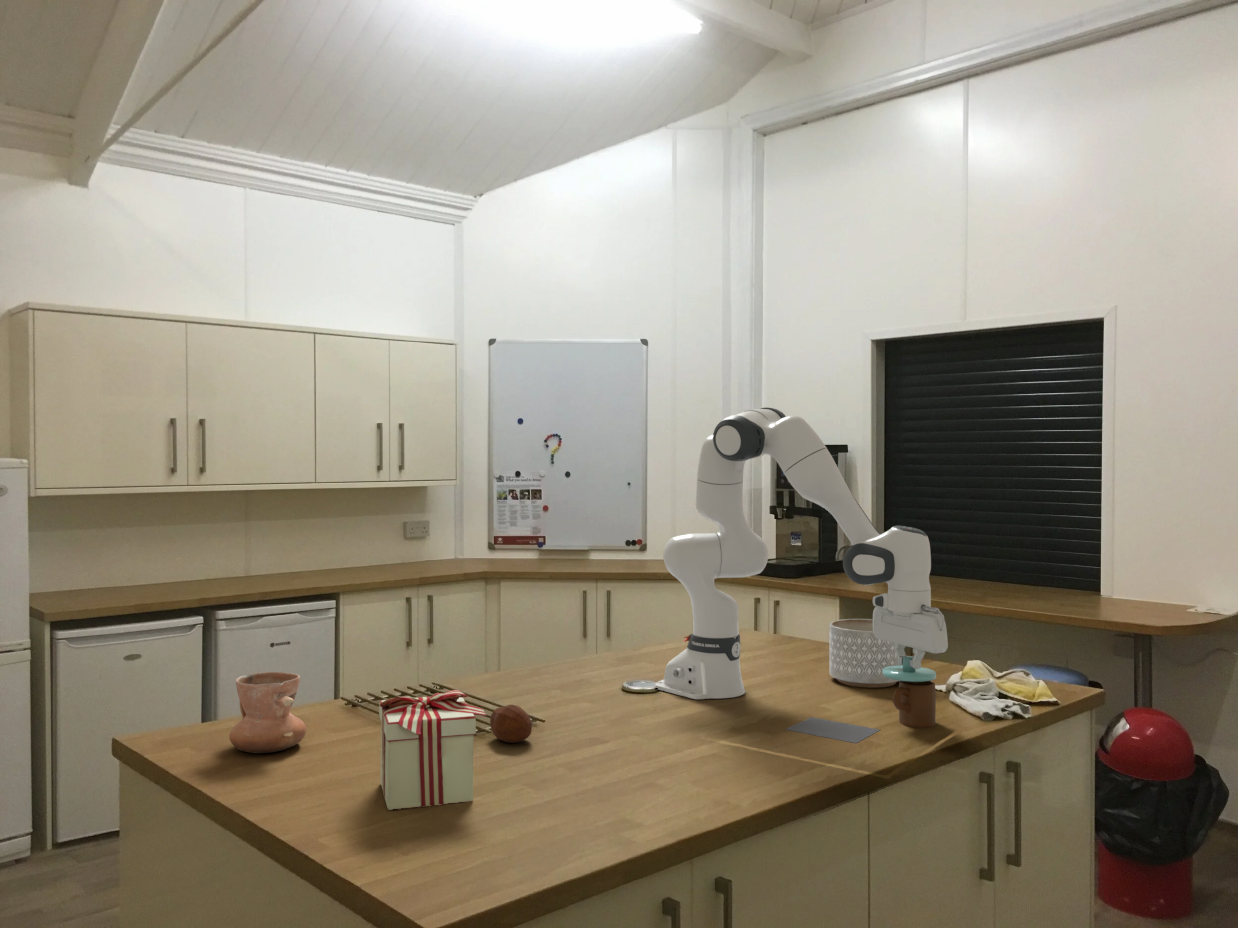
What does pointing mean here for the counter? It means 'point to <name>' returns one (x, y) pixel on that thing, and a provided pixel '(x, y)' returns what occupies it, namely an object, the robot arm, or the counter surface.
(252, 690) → the ceramic jug
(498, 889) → the counter surface
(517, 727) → the potato
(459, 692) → the gift box
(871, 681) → the planter
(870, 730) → the mat
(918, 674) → the lid
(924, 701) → the mug
